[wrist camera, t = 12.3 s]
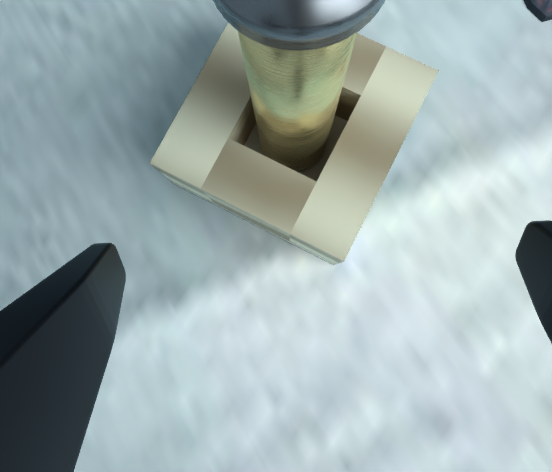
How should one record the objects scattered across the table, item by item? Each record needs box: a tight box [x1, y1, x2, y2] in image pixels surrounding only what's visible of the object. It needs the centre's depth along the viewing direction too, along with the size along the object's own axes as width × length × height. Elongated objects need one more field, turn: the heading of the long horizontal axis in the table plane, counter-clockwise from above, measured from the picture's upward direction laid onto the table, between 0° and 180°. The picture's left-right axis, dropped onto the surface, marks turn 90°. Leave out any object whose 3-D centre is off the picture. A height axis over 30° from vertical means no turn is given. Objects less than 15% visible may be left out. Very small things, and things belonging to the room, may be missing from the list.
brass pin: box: [213, 0, 385, 173], centre depth 15 cm, size 5×5×13 cm
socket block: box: [150, 22, 439, 265], centre depth 21 cm, size 10×10×4 cm
